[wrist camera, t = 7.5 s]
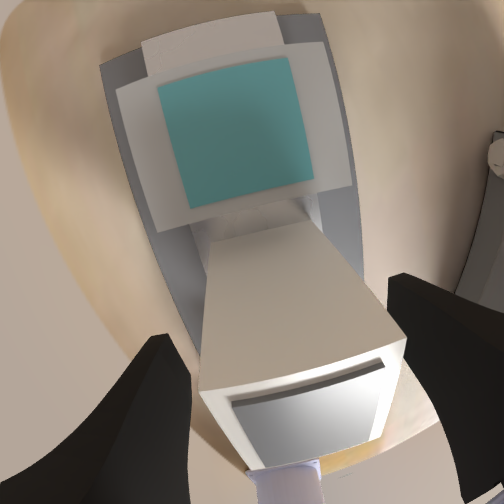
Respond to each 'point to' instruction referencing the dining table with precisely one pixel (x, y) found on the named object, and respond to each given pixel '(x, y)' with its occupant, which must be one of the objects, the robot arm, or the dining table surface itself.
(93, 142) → the dining table surface
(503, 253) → the electrical component
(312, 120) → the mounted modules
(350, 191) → the plate
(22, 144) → the dining table surface
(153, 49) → the din rail
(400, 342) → the block
